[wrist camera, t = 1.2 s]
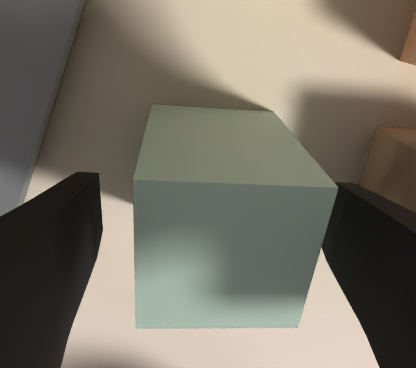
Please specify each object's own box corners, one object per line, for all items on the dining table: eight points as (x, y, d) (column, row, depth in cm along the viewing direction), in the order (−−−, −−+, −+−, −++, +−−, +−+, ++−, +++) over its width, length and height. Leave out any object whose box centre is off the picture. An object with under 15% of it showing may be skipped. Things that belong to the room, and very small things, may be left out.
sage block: (255, 212, 15) (297, 327, 10) (150, 209, 15) (135, 328, 9) (273, 111, 13) (338, 187, 8) (151, 103, 13) (132, 179, 7)
